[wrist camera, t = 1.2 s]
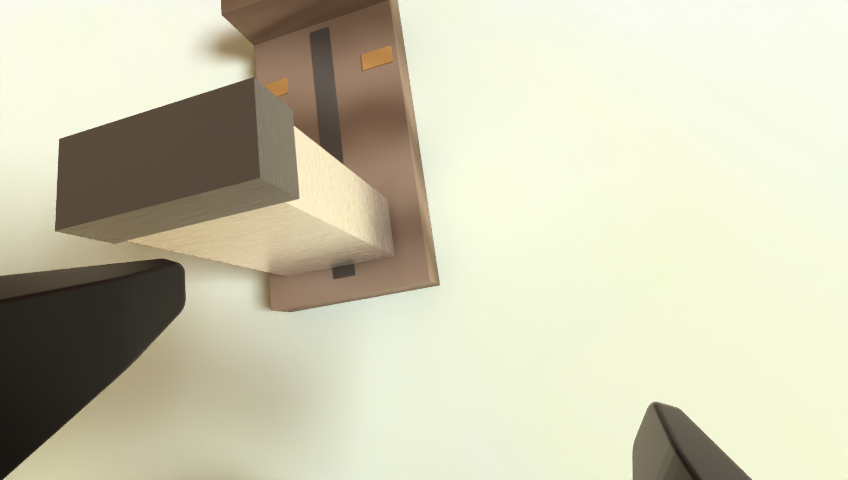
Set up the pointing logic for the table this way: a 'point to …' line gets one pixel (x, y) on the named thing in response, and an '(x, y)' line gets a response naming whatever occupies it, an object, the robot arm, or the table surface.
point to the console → (348, 128)
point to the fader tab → (221, 186)
